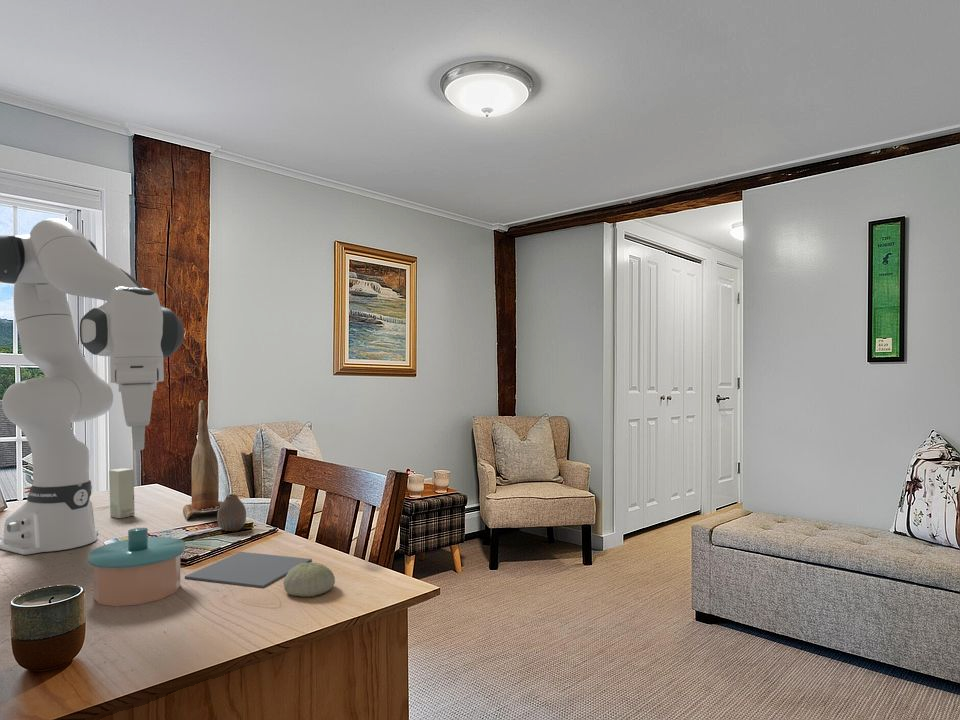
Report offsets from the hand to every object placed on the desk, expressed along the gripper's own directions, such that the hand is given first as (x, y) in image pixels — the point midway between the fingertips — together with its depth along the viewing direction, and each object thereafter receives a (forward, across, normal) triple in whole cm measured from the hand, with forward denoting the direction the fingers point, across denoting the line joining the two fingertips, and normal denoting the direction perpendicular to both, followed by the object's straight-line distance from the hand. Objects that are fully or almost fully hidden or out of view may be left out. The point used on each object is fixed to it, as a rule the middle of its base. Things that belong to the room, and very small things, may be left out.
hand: (139, 447), depth 122 cm
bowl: (+27, 0, -1) cm, 27 cm away
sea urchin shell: (+28, +14, +28) cm, 42 cm away
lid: (+20, 0, -1) cm, 20 cm away
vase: (+27, -38, +20) cm, 51 cm away
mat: (+27, -4, +20) cm, 34 cm away
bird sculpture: (+26, -58, +15) cm, 66 cm away
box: (+26, -67, -6) cm, 72 cm away
